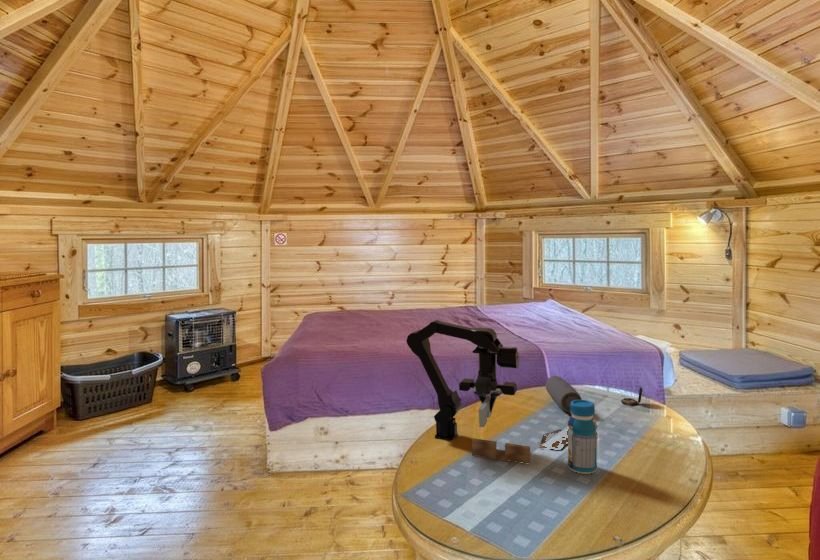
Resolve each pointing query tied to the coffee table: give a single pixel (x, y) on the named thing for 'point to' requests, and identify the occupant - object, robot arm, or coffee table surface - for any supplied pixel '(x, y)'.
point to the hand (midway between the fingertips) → (488, 411)
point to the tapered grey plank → (484, 411)
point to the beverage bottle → (582, 437)
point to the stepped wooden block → (500, 451)
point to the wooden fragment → (553, 443)
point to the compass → (632, 401)
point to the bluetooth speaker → (561, 392)
